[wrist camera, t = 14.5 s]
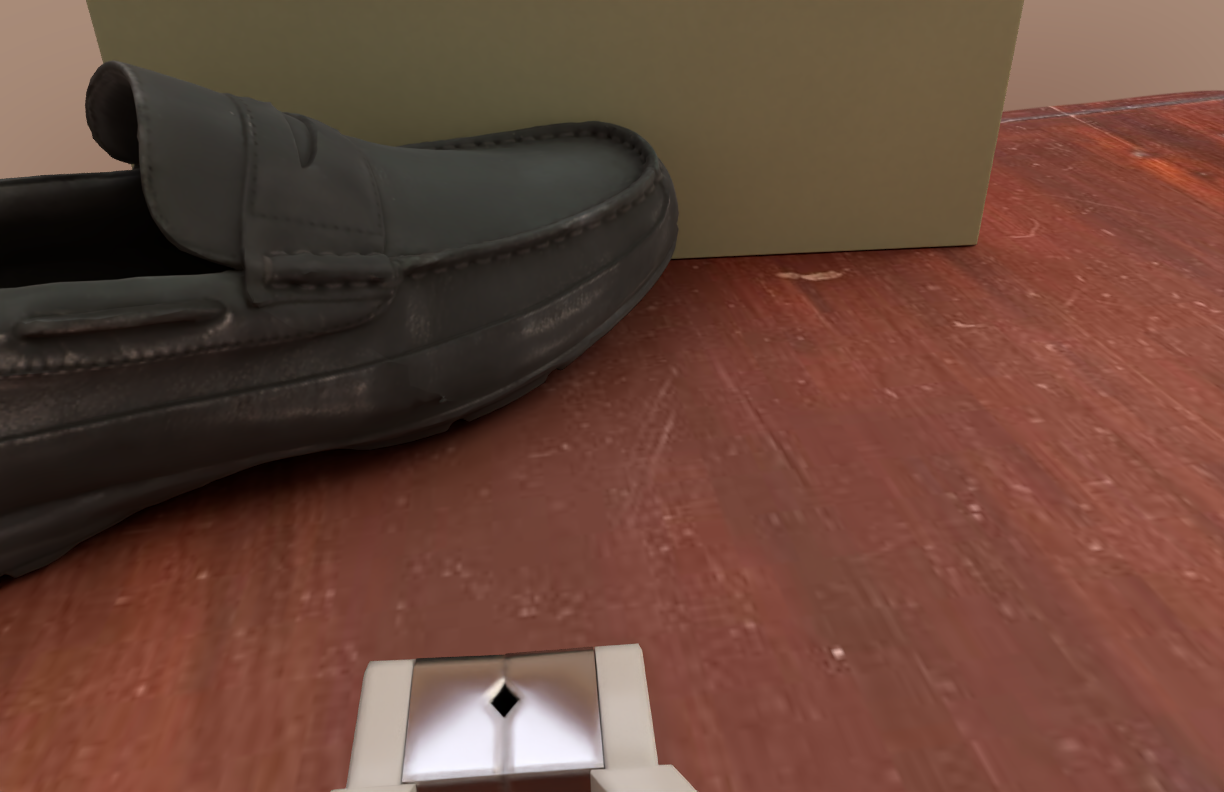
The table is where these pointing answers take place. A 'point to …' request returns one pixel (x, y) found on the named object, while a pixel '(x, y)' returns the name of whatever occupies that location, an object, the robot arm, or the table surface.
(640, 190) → the loafer
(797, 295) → the table surface
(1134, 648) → the table surface
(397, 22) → the wooden plank
